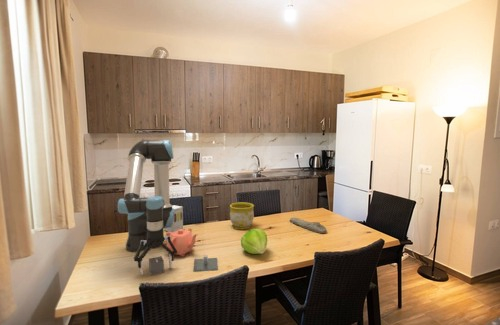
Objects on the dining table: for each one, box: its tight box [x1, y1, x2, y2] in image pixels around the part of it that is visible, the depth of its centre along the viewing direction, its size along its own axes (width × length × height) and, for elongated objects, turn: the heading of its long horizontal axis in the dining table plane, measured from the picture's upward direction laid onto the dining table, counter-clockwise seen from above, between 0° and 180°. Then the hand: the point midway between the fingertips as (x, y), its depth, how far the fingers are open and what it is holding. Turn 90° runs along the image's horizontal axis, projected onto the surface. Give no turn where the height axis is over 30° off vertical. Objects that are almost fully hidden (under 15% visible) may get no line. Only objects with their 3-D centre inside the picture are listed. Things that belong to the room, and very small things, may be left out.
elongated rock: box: [289, 217, 328, 234], centre depth 200 cm, size 35×5×10 cm
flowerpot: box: [229, 201, 255, 231], centre depth 199 cm, size 18×18×16 cm
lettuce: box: [240, 228, 268, 255], centre depth 154 cm, size 15×20×14 cm
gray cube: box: [148, 255, 165, 276], centre depth 133 cm, size 6×6×6 cm
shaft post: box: [193, 254, 219, 272], centre depth 140 cm, size 12×12×5 cm
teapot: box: [165, 228, 199, 258], centre depth 154 cm, size 16×17×14 cm
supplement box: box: [164, 204, 184, 233], centre depth 192 cm, size 10×9×17 cm
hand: (156, 270), depth 133 cm, fingers open, 13 cm apart
